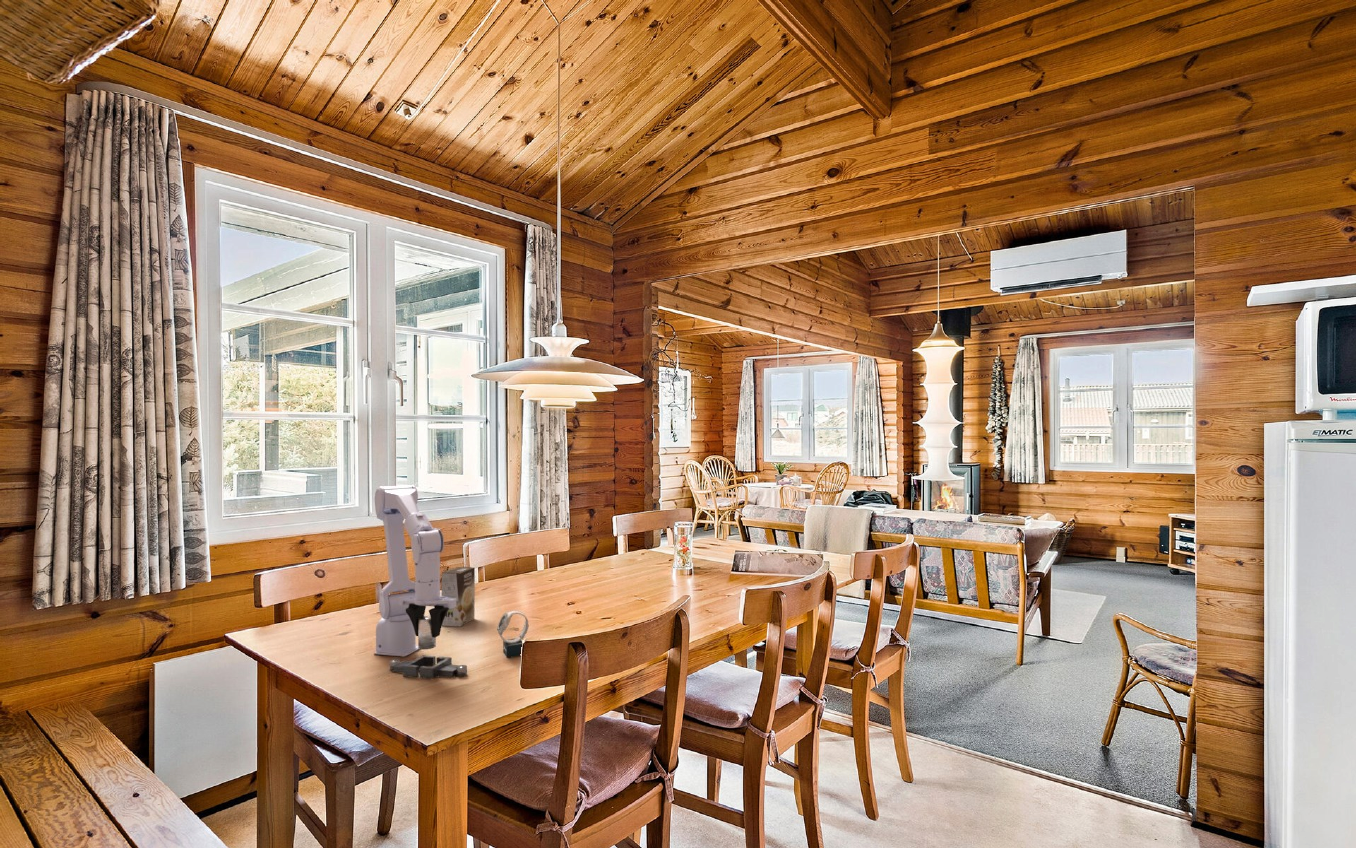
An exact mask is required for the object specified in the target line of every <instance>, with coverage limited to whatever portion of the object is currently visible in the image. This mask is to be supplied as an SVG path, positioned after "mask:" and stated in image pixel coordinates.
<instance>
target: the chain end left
mask: <svg viewBox="0 0 1356 848" xmlns="http://www.w3.org/2000/svg"><path fill="white" fill-rule="evenodd" d="M436 664H437V663H436V655H426V654H424V655H420V656H418V657H417V658H415V659H412V660H402V661H401V659H399V658H398V659H397V658H396V659H395V658H394V659H391V660H389V671H392V672H393V673H398V674H399V673H400V674H402V675H403V676H402V677H404V678H405V677H406V678H418V677H420V667H421V666H428V667H432V666H434V665H436Z"/></svg>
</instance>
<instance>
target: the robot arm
mask: <svg viewBox="0 0 1356 848" xmlns="http://www.w3.org/2000/svg"><path fill="white" fill-rule="evenodd" d="M418 501H419V493H418V489H417V487H416V486H415V485H414V484H409V485H407V484H406V485H391V486H378V487H377V488H376V490H375V493H374V507H375V508H374V509H375V515H376V519H379V520H380V521H382V523H383V529H384V537H385V546H386V547H385V548H386V557H387V558H386V560H387V566H388V579H389V582H388V583H386V585H384V587H382V588H381V590H380V591H379V601H378V609H379V610H378V611H379V614H380V617H381V618H380V619H379V621H378V622H377V625H376V627H375V628H376V629H375V651H374V653H373V654H374V655H383V656H392V657H407V656H409V655H411V654H412V653H413V654H414V653H415V652H416V651H418V650H420V649H419V648H418V644H417V643H416V642H417V641H416V637H418V618H420V617H423V616H425V613H426V608H427V607H433V608H430V609H428V612H429V613H428V614H429V616H430V617H431V622H432V637H434V638H435V637H436V638H437V637H439V636H440V634H441V631H442V627H443V626H442V623H443V621H444V618H445V616H446V614H447V612H448V610H449V608H454V607H456V599H454V598H448V597H443V596H442V595H441V554H440V553H442V552H443V551H444V546H445V539H444V534H443V532H442V529H440V528H437V527H433V525H432V524H431V522H430V520H429V517H428V516H427V515H426V514H425V513H423V512H420V511H419V508H418ZM405 531H406V532H407V534H408V536H409V538H410V540H411V541H410V547H411V552H412V561H413V562H414V581H413V580H411V579H410V578H409V577H410V576H409V567H408V558H407V557H408V556H407V549H406V540H405Z"/></svg>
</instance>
